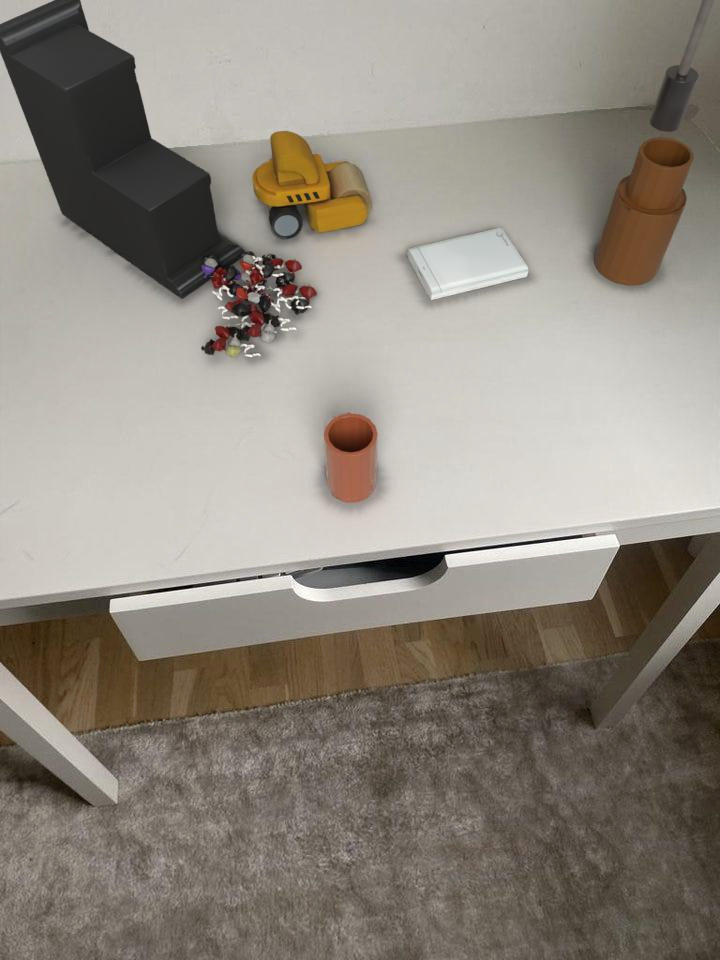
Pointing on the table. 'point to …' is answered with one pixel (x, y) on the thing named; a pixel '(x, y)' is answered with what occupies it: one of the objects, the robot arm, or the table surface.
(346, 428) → the holder
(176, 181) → the black stepped block
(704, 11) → the brush
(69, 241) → the table surface
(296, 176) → the toy roller
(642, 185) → the flask
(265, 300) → the toy collection
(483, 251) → the hard drive
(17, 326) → the table surface
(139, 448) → the table surface
